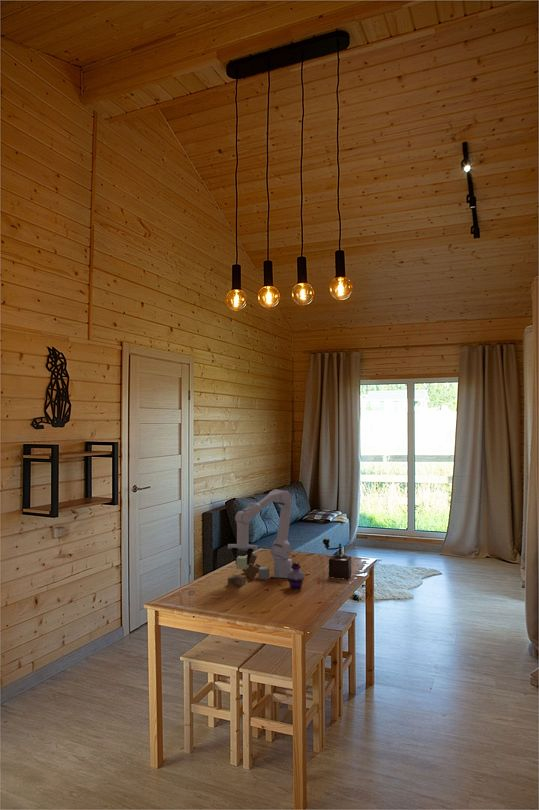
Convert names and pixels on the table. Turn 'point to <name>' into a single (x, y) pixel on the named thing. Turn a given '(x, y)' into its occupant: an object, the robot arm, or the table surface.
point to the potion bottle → (295, 576)
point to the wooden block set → (252, 567)
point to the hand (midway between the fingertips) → (242, 564)
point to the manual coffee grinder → (338, 563)
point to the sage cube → (241, 562)
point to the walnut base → (236, 580)
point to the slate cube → (264, 573)
